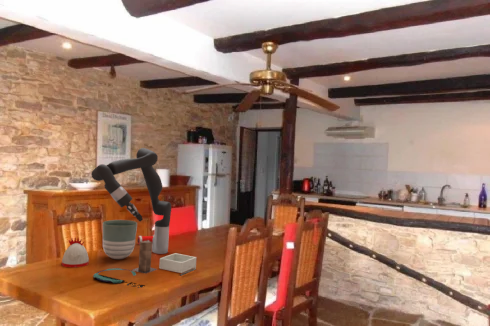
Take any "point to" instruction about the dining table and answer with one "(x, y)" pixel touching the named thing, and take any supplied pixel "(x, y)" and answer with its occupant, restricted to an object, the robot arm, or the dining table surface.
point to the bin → (178, 263)
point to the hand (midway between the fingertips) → (141, 219)
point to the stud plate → (144, 271)
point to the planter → (119, 238)
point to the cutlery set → (114, 280)
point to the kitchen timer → (75, 255)
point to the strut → (145, 255)
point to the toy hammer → (145, 239)
